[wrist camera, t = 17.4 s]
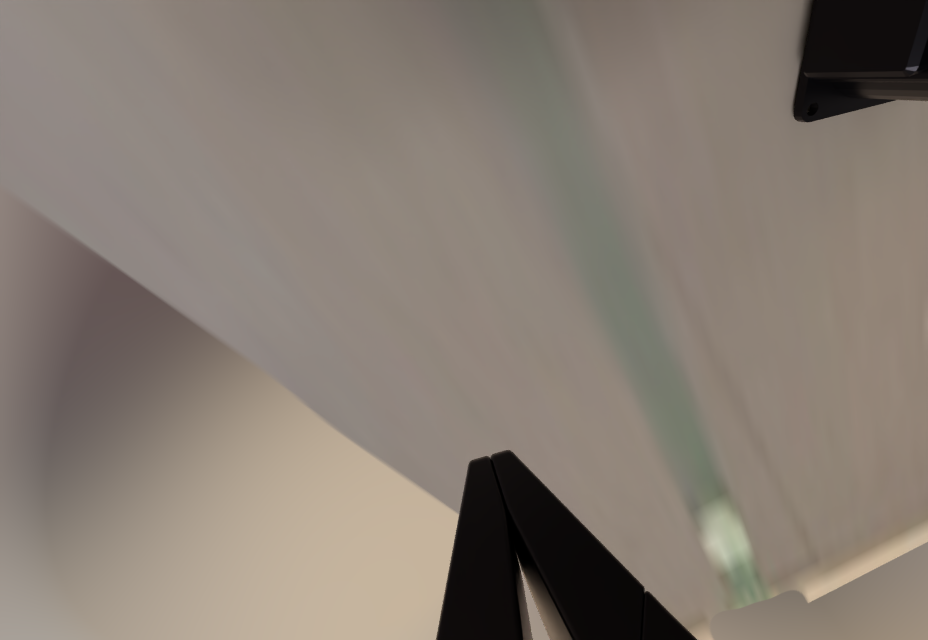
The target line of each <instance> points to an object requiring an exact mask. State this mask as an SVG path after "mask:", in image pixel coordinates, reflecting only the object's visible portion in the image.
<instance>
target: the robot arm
mask: <svg viewBox="0 0 928 640" xmlns="http://www.w3.org/2000/svg"><path fill="white" fill-rule="evenodd" d="M895 100H917V101H928V0H814V5H813V10H812V16H811V21H810V26H809V32H808V37H807V43H806V48H805V54H804V59H803V64H802V70H801V75H800V81H799V86H798V92H797V97H796V102H795V108H794V118H795V120H797V121H800V122H812V121H816V120H820V119H824V118H828V117H832V116H836V115H840V114H844V113H847V112H851V111H855V110H859V109H863V108H867V107H871V106H875V105H879V104H883V103H887V102H891V101H895ZM809 106H810V109H809V111H808V112H807V110H808V107H809ZM518 560H519V561H518ZM519 563H520V566H521V569H522V572H523V575H524V577H525V580H526V582H527V585H528V587H529V590H530V592H531V595H532V597H533V599H534V602H535V604H536V607H537V609H538V612H539V614H540V617H541V619H542V621H543V624H544V626H545V629H546V631H547V634H548V636H549V638H550V640H697V639H696V638H695V637H694V636H693V635H692V634H691V633H690V632H689V631H688V630H687V629H686V628H685V627H684V626H683V625H682V624H681V623H680V622H679V621H678V620H677V619H676V618H675V617H674V616H673V615H671V614H670V613H669V612H668V611H667V610H666V609H665V607H664V606H663V605H662V604H661V603H660V602H659V601H658V600H657V599H656V598H655V597H654V596H653V595H652V594H651V593H650V592H648V591H646V592H645V588H644V586H643V585H642V584H641V583H640V582H639V581H638V580H637V579H636V578H635V577H634V576H633V575H632V574H631V573H630V572H629V571H628V570H627V569H626V568H625V567H624V566H623V565H622V564H621V563H620V562H619V561H618V560H617V559H616V558H615V557H614V556H613V555H612V554H611V553H610V551H609V550H608V549H607V548H606V547H605V546H604V545H603V544H602V543H601V542H600V541H599V540H598V539H597V538H596V537H595V536H594V535H593V534H592V533H591V532H590V531H589V530H588V529H587V528H586V527H585V526H584V525H583V524H582V523H581V522H580V521H579V520H578V519H577V518H576V517H575V516H574V515H573V514H572V513H571V512H570V511H569V509H568V508H567V507H566V506H565V505H564V504H563V503H562V502H561V501H560V500H559V499H558V498H557V497H556V496H555V495H554V494H553V493H552V492H551V491H550V490H549V489H548V488H547V487H546V486H545V485H544V484H543V483H542V482H541V481H540V480H539V479H538V478H537V477H536V476H535V475H534V474H533V473H532V472H531V471H530V470H529V469H528V468H527V466H526V465H525V464H524V463H523V462H522V461H521V460H520V459H519V458H518V457H517V456H516V455H515V454H514V453H513V452H511V451H510V450H505V451H502V452H498V453H495V454H492V456H491V459H490V457H488V456H484V457H481V458H477V459H474V460H471V461H470V463H469V465H468V470H467V476H466V481H465V487H464V492H463V497H462V503H461V508H460V513H459V519H458V525H457V530H456V535H455V540H454V546H453V551H452V557H451V563H450V567H449V573H448V579H447V583H446V589H445V594H444V600H443V605H442V610H441V616H440V621H439V627H438V632H437V638H436V640H533V639H532V633H531V627H530V621H529V615H528V609H527V603H526V597H525V591H524V585H523V580H522V575H521V570H520V566H519Z"/></svg>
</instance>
